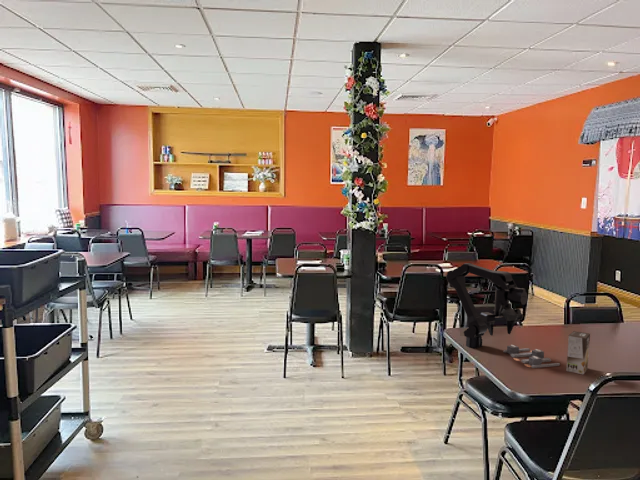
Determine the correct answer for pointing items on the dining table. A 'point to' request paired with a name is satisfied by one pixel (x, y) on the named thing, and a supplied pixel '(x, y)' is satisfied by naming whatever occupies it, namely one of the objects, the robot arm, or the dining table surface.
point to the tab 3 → (535, 360)
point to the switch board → (528, 359)
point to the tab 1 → (512, 349)
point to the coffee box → (578, 352)
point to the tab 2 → (538, 353)
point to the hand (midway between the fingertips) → (500, 334)
